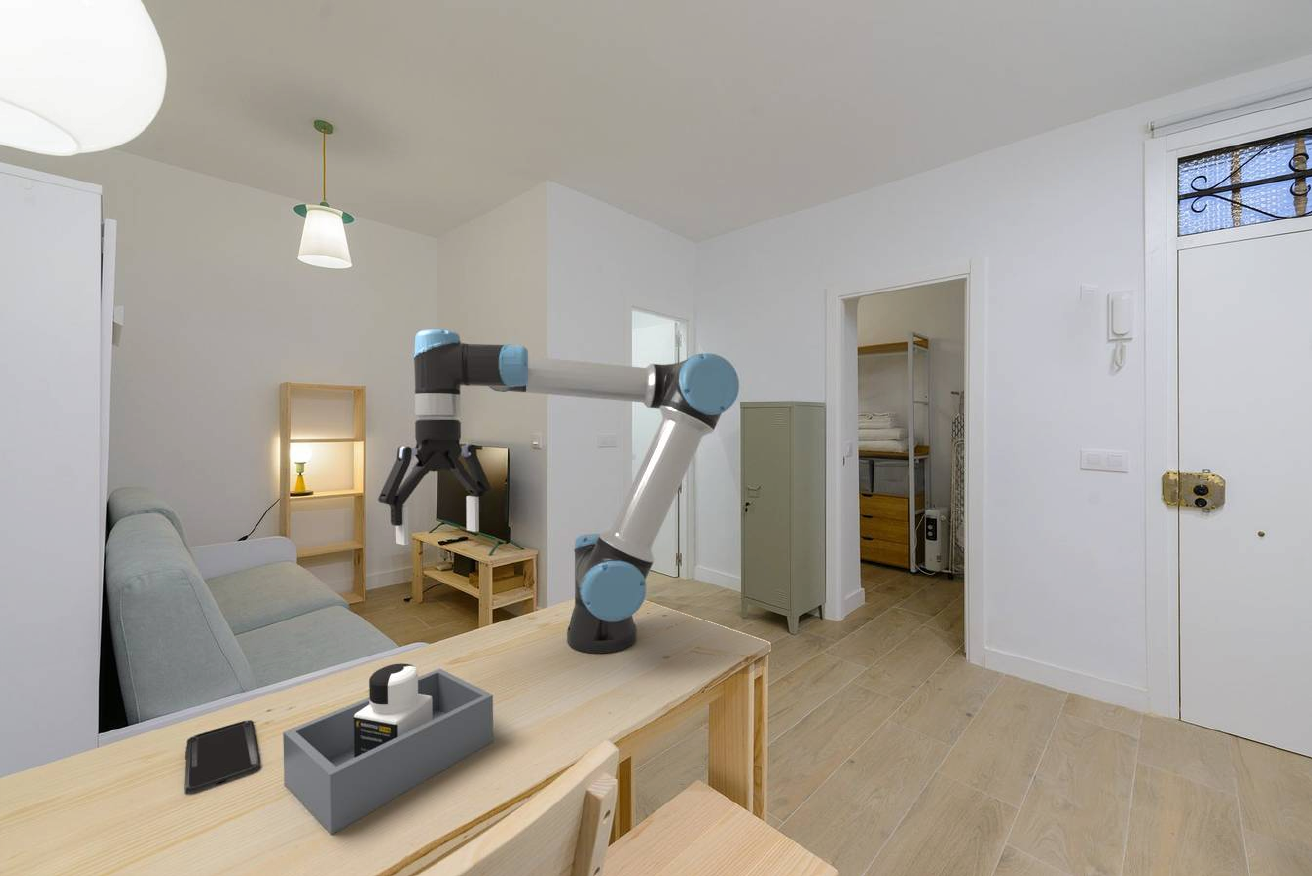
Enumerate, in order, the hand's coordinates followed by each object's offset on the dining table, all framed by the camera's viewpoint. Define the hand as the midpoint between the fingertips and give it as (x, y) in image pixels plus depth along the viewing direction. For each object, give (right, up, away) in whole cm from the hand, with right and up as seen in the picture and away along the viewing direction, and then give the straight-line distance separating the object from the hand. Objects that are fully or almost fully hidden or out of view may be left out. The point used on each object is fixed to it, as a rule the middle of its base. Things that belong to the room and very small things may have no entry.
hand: (439, 537), depth 94 cm
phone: (-23, -28, -20) cm, 41 cm away
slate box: (+3, -27, -21) cm, 35 cm away
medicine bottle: (+3, -27, -21) cm, 34 cm away
